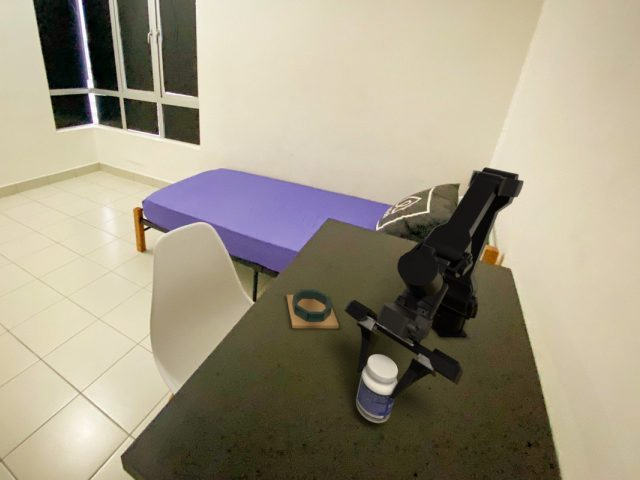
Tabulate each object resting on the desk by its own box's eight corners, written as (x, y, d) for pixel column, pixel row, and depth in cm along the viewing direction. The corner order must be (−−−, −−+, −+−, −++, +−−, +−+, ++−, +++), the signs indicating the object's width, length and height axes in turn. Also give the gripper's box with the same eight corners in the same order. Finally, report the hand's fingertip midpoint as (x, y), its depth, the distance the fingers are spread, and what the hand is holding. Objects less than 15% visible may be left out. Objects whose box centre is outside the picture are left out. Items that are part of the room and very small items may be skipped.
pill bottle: (392, 428, 54) (404, 384, 51) (356, 420, 55) (366, 376, 52) (387, 396, 60) (397, 354, 56) (354, 389, 61) (362, 348, 57)
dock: (327, 298, 89) (328, 287, 87) (338, 328, 78) (340, 316, 77) (286, 297, 88) (287, 286, 87) (292, 328, 78) (293, 316, 77)
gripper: (357, 261, 58) (311, 341, 55) (478, 321, 45) (425, 430, 42) (374, 281, 66) (333, 352, 63) (480, 337, 53) (436, 430, 50)
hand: (374, 385), depth 54 cm, fingers closed on pill bottle, 6 cm apart
